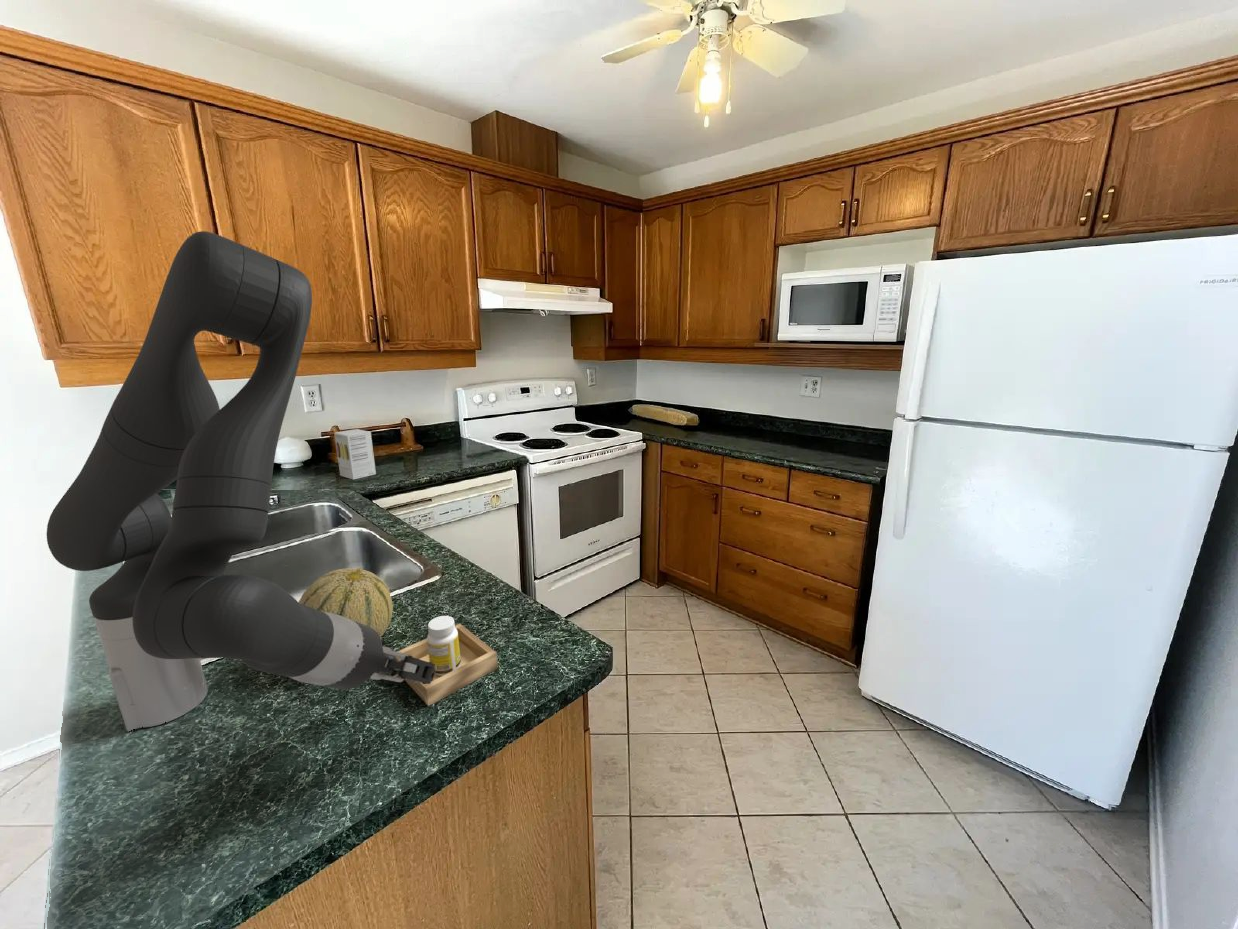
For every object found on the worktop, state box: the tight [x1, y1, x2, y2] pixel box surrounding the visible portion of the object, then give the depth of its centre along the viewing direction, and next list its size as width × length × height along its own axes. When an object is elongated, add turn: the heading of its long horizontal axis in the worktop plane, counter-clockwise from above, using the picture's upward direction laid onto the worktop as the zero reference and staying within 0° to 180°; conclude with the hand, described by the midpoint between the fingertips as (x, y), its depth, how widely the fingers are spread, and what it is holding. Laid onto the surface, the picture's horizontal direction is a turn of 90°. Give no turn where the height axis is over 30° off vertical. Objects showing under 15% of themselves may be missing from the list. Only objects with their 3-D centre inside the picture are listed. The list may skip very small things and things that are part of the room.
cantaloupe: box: [297, 567, 394, 638], centre depth 86 cm, size 15×15×15 cm
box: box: [394, 623, 499, 707], centre depth 82 cm, size 12×12×3 cm
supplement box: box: [334, 428, 377, 480], centre depth 189 cm, size 10×9×17 cm
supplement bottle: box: [426, 615, 461, 676], centre depth 81 cm, size 5×5×8 cm
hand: (404, 671), depth 72 cm, fingers open, 8 cm apart
